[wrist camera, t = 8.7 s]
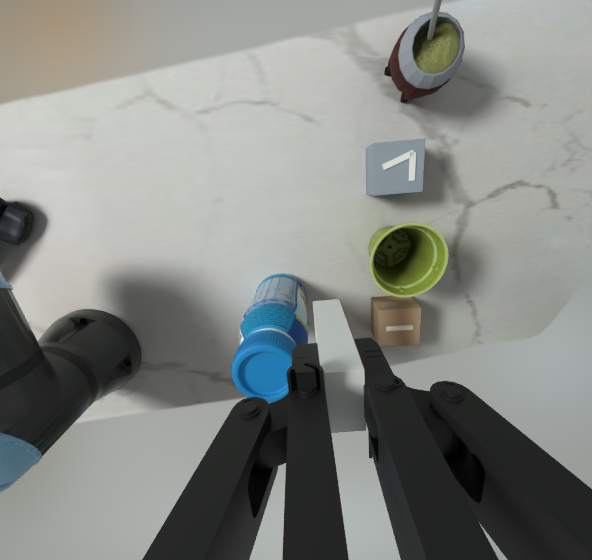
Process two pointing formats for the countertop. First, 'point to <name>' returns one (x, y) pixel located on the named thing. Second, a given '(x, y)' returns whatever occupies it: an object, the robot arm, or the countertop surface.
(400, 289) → the plant pot
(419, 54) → the mate gourd
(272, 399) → the beverage bottle
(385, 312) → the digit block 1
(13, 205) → the can opener
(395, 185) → the digit block 7
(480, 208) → the countertop surface
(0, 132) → the countertop surface
